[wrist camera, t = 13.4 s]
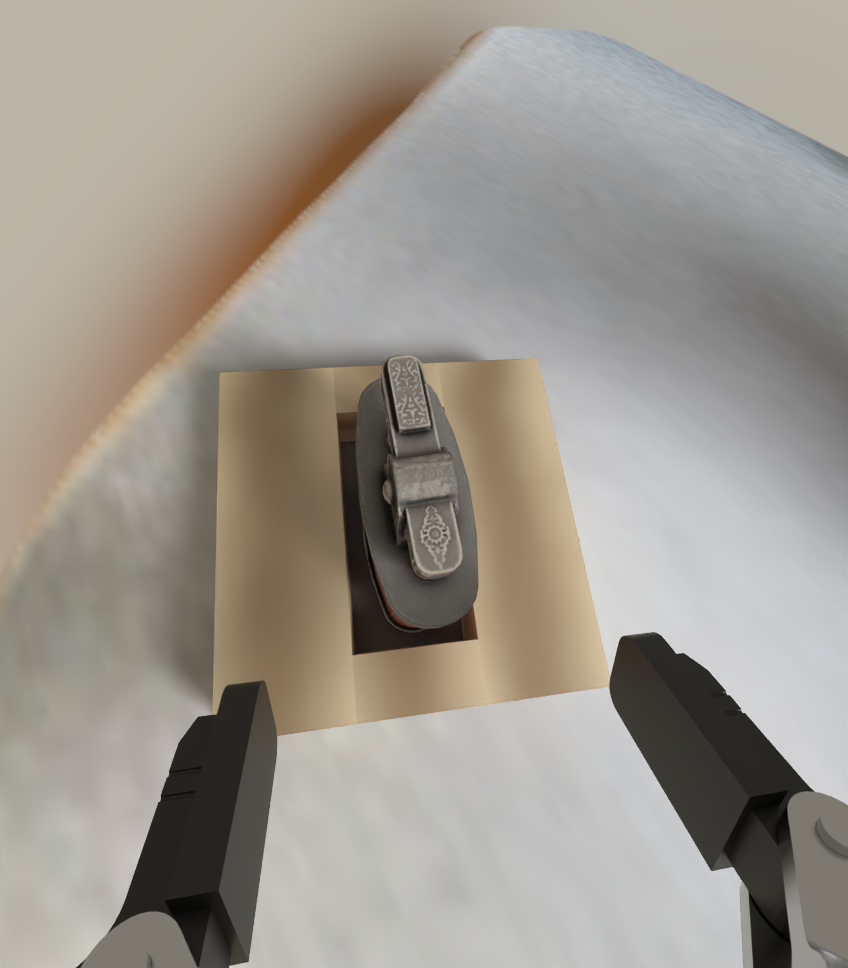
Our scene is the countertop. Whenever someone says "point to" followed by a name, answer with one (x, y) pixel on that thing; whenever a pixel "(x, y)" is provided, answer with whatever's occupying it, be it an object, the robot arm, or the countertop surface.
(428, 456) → the lighter
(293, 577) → the rail
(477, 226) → the countertop surface
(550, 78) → the countertop surface
